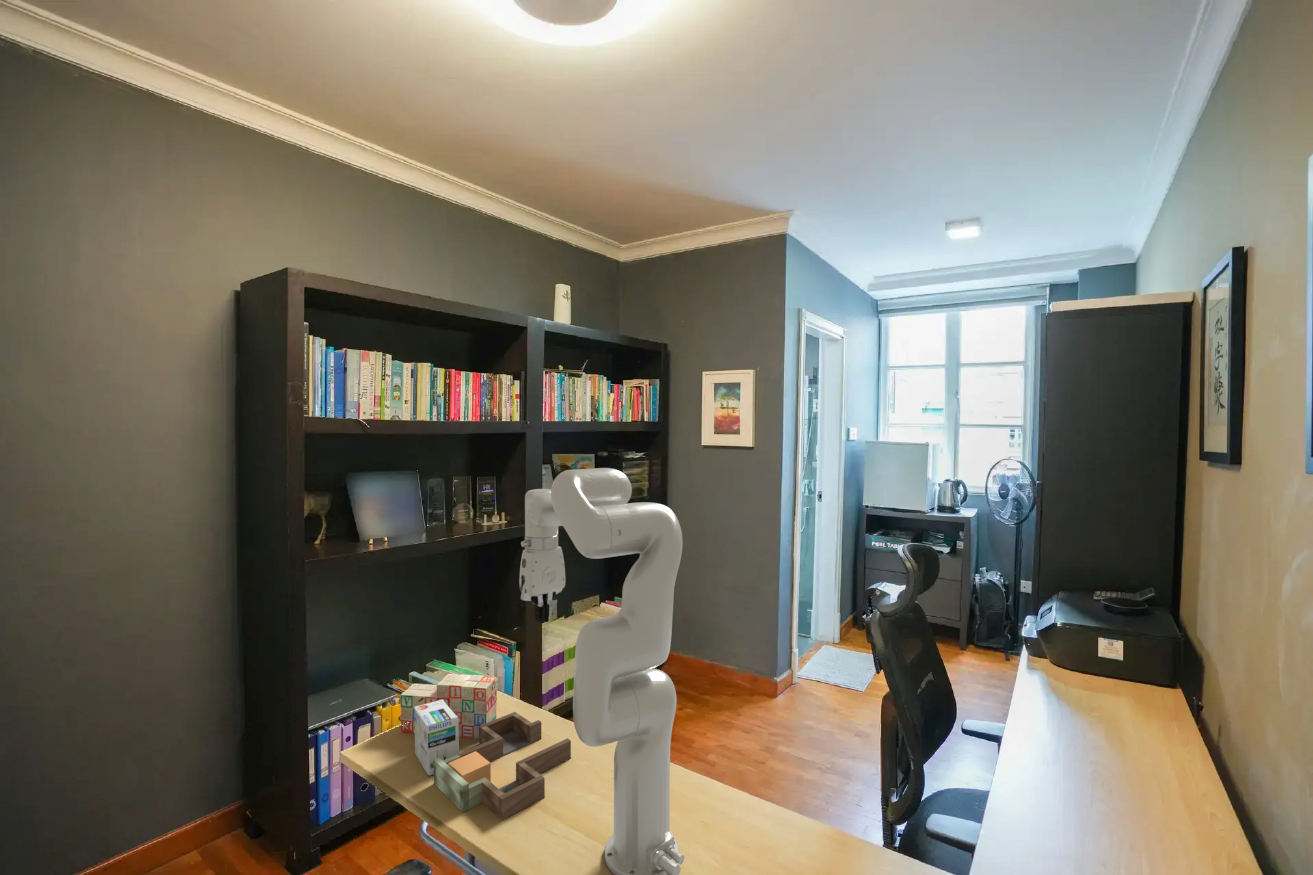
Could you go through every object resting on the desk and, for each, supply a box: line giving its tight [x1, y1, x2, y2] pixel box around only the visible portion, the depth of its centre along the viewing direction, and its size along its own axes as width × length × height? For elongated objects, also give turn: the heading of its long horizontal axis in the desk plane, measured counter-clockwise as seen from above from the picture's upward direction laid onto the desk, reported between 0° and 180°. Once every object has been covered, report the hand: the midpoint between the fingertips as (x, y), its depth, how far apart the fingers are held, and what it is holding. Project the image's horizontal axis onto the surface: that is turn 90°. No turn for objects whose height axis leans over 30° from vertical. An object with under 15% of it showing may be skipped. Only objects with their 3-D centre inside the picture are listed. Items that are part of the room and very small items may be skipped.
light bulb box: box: [414, 699, 460, 776], centre depth 130 cm, size 11×7×11 cm, turn 37°
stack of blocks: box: [399, 673, 498, 740], centre depth 143 cm, size 21×6×12 cm, turn 83°
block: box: [448, 751, 492, 784], centre depth 121 cm, size 6×6×5 cm
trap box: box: [433, 711, 572, 821], centre depth 126 cm, size 27×25×5 cm
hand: (542, 620), depth 139 cm, fingers closed
